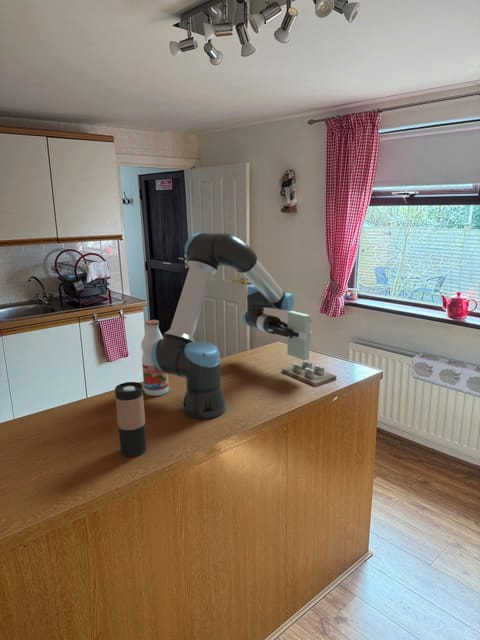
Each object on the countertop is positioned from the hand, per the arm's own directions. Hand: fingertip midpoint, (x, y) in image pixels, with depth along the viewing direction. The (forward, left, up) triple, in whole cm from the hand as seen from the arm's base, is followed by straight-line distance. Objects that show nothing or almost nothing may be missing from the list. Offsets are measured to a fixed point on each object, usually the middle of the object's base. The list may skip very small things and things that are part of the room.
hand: (308, 335), depth 170 cm
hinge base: (-2, +7, -19) cm, 21 cm away
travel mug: (-28, -71, -20) cm, 79 cm away
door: (-5, +2, -10) cm, 11 cm away
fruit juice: (-49, -34, -20) cm, 63 cm away
